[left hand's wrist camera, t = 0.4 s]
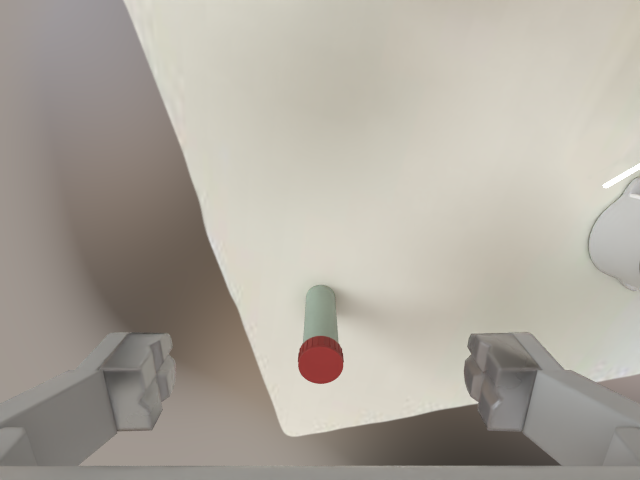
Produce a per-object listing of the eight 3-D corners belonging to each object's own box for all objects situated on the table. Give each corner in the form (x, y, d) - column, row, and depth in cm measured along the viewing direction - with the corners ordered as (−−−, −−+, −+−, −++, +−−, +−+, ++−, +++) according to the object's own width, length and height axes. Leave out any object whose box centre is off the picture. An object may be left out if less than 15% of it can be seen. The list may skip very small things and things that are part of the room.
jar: (340, 297, 64) (347, 362, 48) (320, 315, 65) (321, 385, 49) (320, 279, 63) (320, 340, 47) (300, 298, 64) (293, 363, 48)
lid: (351, 353, 50) (353, 365, 48) (321, 379, 51) (321, 391, 49) (320, 327, 48) (320, 338, 46) (289, 354, 50) (288, 366, 48)
